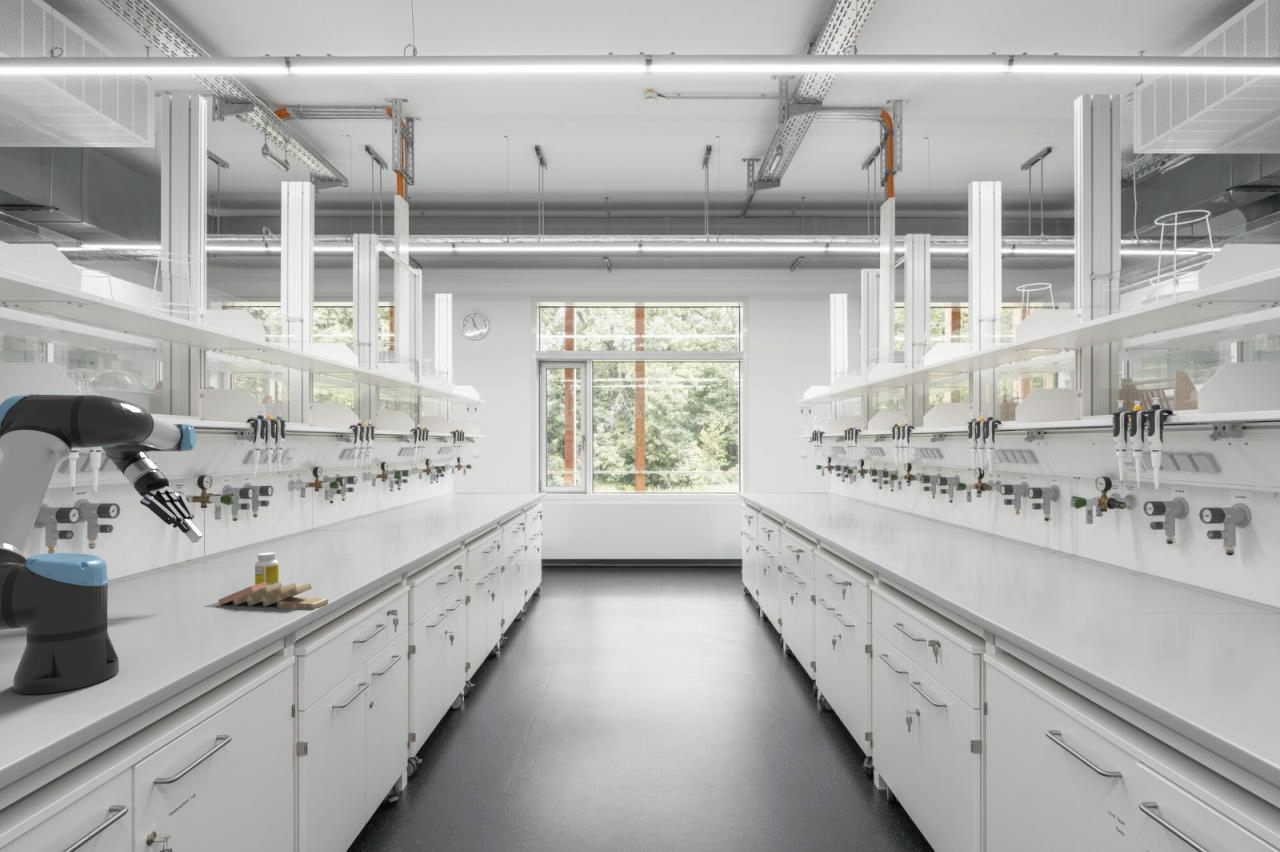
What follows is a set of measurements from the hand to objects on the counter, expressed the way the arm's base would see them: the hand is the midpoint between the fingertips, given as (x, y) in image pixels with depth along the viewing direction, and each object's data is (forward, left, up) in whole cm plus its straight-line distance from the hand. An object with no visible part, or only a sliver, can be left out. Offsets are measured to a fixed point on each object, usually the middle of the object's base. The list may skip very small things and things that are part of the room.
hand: (197, 539), depth 190 cm
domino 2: (+4, -13, -16) cm, 22 cm away
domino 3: (+6, -17, -16) cm, 25 cm away
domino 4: (+7, -22, -16) cm, 28 cm away
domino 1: (+3, -9, -16) cm, 19 cm away
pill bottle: (+18, -3, -18) cm, 25 cm away
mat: (+5, -16, -18) cm, 24 cm away
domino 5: (+8, -26, -16) cm, 32 cm away
